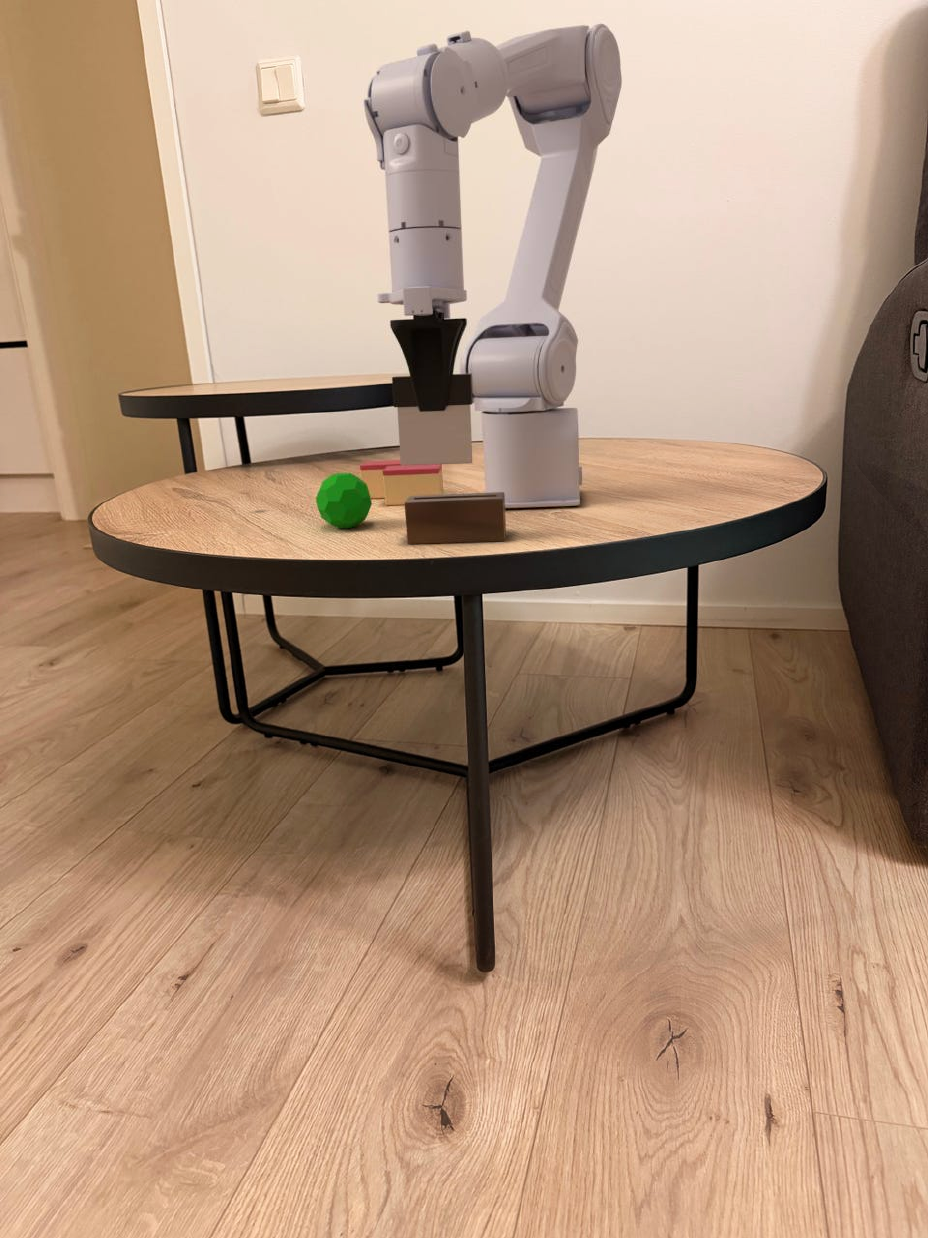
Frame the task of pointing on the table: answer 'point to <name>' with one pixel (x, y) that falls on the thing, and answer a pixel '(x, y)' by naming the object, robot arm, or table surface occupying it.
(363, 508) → the polyhedron
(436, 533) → the knife block
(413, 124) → the robot arm
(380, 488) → the cake slice
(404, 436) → the beige and brown block
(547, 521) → the table surface
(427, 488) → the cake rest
